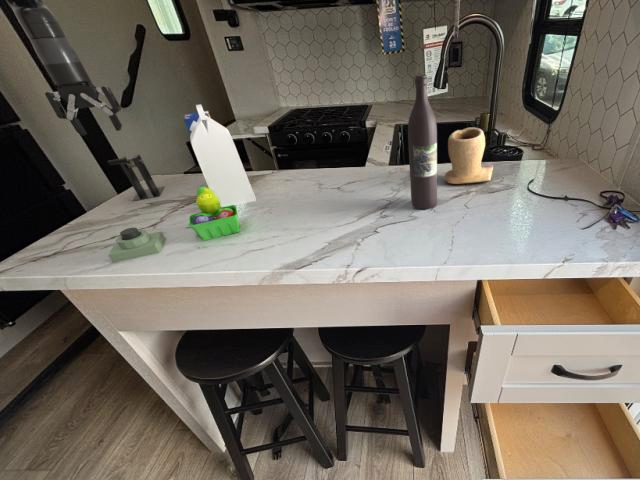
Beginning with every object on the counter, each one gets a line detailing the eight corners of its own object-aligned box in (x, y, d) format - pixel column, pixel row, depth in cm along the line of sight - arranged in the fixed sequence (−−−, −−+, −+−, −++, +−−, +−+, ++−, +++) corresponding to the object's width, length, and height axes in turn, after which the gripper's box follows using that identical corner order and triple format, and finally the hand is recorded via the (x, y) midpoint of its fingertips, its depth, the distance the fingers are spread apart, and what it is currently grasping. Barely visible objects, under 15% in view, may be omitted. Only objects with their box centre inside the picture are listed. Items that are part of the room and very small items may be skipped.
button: (122, 242, 80) (117, 235, 79) (126, 235, 83) (122, 229, 82) (138, 238, 81) (134, 232, 80) (142, 232, 83) (138, 226, 82)
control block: (113, 262, 80) (102, 248, 77) (122, 247, 86) (113, 233, 83) (159, 253, 82) (150, 238, 80) (165, 238, 88) (157, 224, 86)
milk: (256, 200, 104) (223, 105, 88) (217, 210, 101) (174, 112, 84) (251, 189, 113) (219, 100, 96) (215, 197, 109) (175, 106, 93)
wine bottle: (412, 210, 91) (405, 78, 72) (410, 200, 96) (404, 75, 77) (438, 208, 91) (438, 76, 72) (435, 198, 96) (435, 72, 77)
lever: (127, 164, 98) (123, 155, 98) (110, 167, 97) (106, 158, 97) (143, 166, 109) (139, 158, 108) (127, 168, 108) (124, 160, 107)
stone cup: (445, 190, 100) (446, 135, 91) (443, 176, 110) (444, 125, 100) (497, 187, 99) (503, 132, 90) (491, 173, 108) (496, 122, 99)
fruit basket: (198, 244, 84) (175, 201, 77) (198, 230, 90) (177, 189, 83) (245, 232, 87) (228, 190, 80) (242, 220, 94) (226, 179, 87)
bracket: (160, 199, 111) (139, 159, 103) (133, 204, 109) (109, 164, 101) (166, 189, 119) (146, 151, 110) (141, 194, 117) (119, 155, 109)
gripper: (99, 58, 88) (133, 126, 98) (34, 63, 85) (77, 133, 95) (88, 59, 82) (126, 131, 92) (19, 65, 79) (66, 139, 89)
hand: (101, 132), depth 94 cm, fingers open, 8 cm apart
